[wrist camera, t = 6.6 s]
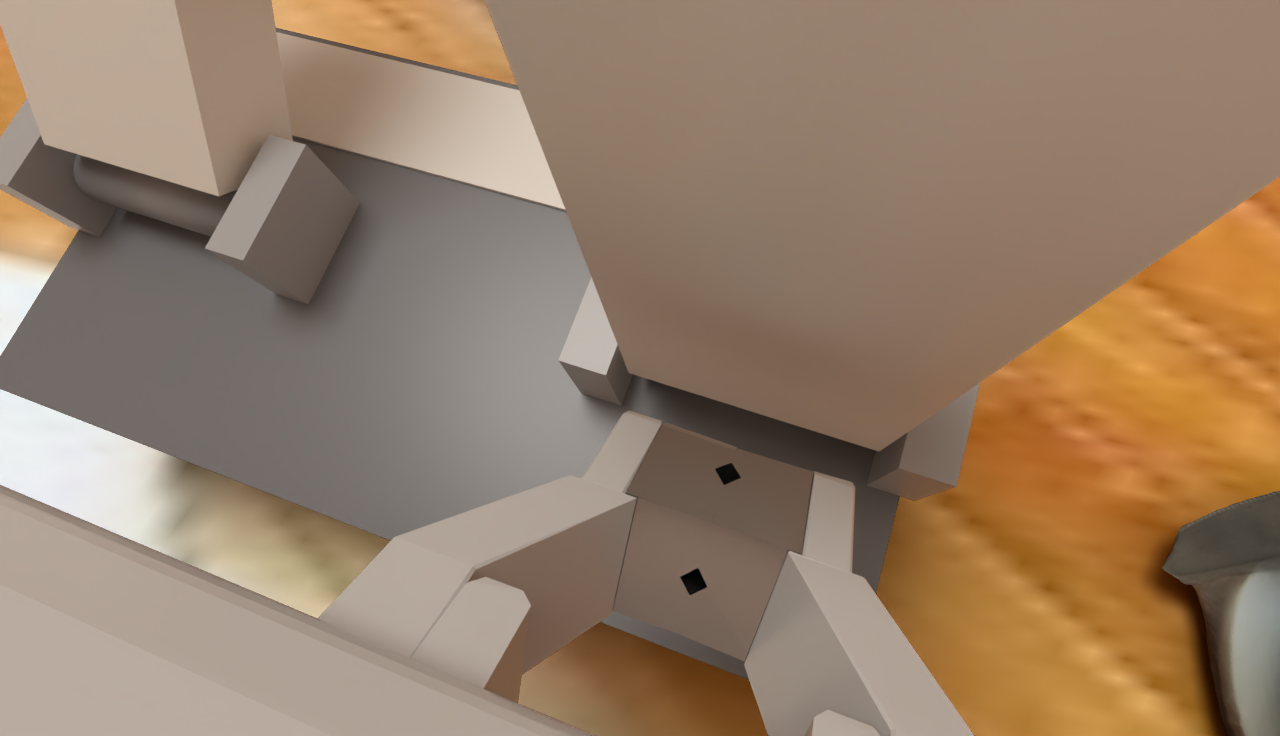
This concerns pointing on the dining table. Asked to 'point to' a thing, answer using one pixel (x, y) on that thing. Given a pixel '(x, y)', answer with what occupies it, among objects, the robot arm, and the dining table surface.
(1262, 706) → the salad plate
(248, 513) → the dining table surface
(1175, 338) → the dining table surface
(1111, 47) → the lever
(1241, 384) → the dining table surface
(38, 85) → the lever
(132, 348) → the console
